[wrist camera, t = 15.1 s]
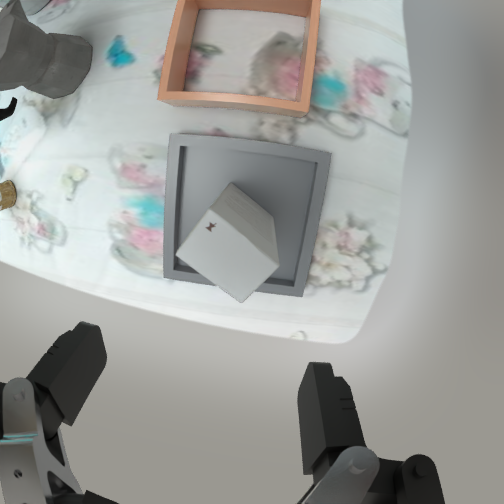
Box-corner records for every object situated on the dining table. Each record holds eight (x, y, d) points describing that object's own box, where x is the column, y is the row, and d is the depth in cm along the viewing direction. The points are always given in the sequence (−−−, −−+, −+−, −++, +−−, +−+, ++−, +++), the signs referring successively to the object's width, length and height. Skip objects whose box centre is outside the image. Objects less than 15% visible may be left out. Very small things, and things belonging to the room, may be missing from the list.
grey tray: (177, 134, 27) (169, 133, 25) (326, 152, 27) (331, 153, 25) (170, 268, 33) (163, 277, 31) (299, 286, 33) (302, 297, 31)
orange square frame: (193, 4, 21) (182, -15, 16) (313, 13, 21) (321, -7, 16) (173, 106, 26) (157, 99, 21) (300, 118, 26) (308, 112, 21)
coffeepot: (67, 24, 20) (-20, -5, 4) (112, 26, 21) (19, -22, 5) (28, 121, 26) (-69, 134, 9) (67, 135, 27) (-45, 151, 10)
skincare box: (206, 211, 29) (171, 253, 18) (231, 181, 28) (208, 205, 17) (249, 246, 30) (241, 306, 19) (275, 217, 29) (282, 264, 18)
